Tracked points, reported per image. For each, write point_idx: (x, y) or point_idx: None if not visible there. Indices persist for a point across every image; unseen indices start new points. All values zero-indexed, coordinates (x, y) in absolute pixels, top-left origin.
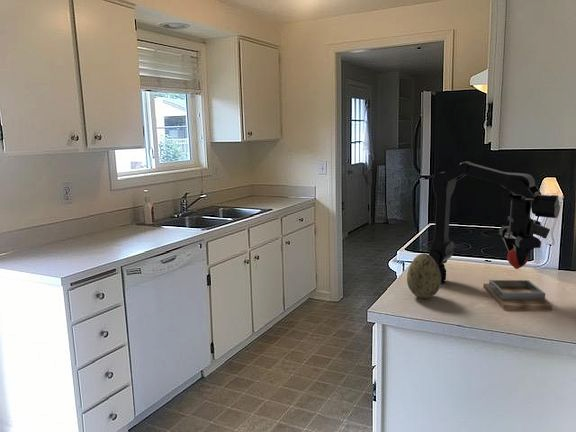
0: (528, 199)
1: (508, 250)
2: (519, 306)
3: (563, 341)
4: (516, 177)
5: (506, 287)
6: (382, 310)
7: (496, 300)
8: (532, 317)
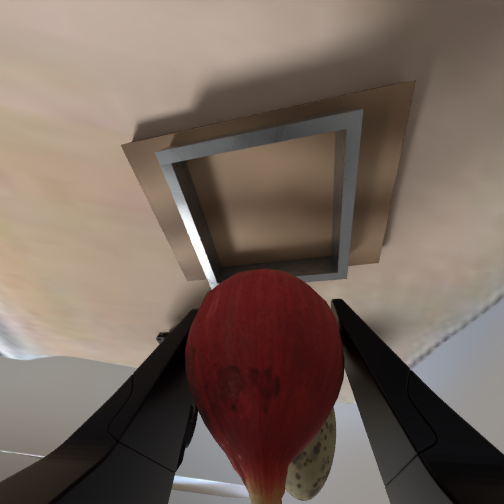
0: None
1: (188, 403)
2: (384, 219)
3: None
4: None
5: (208, 229)
6: (354, 398)
7: None
8: (454, 185)
